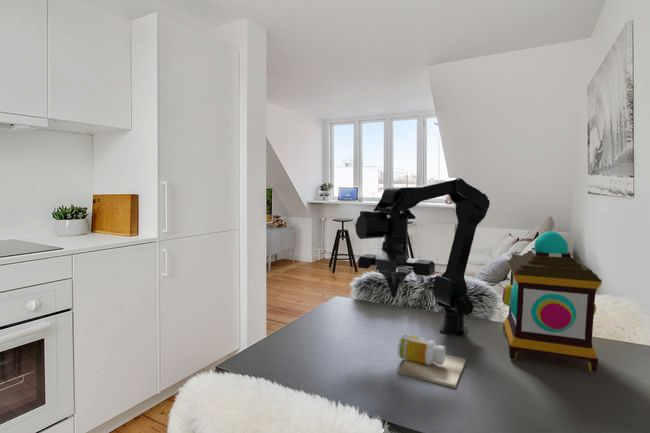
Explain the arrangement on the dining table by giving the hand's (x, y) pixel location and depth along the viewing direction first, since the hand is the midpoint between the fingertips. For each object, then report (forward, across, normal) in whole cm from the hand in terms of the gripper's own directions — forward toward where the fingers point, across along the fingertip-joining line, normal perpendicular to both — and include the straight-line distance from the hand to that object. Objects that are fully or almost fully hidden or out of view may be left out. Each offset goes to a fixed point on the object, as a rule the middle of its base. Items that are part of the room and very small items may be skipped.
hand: (394, 297), depth 95 cm
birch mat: (+12, +12, -8) cm, 19 cm away
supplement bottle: (+9, +4, -8) cm, 13 cm away
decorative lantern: (+12, +34, +14) cm, 39 cm away
